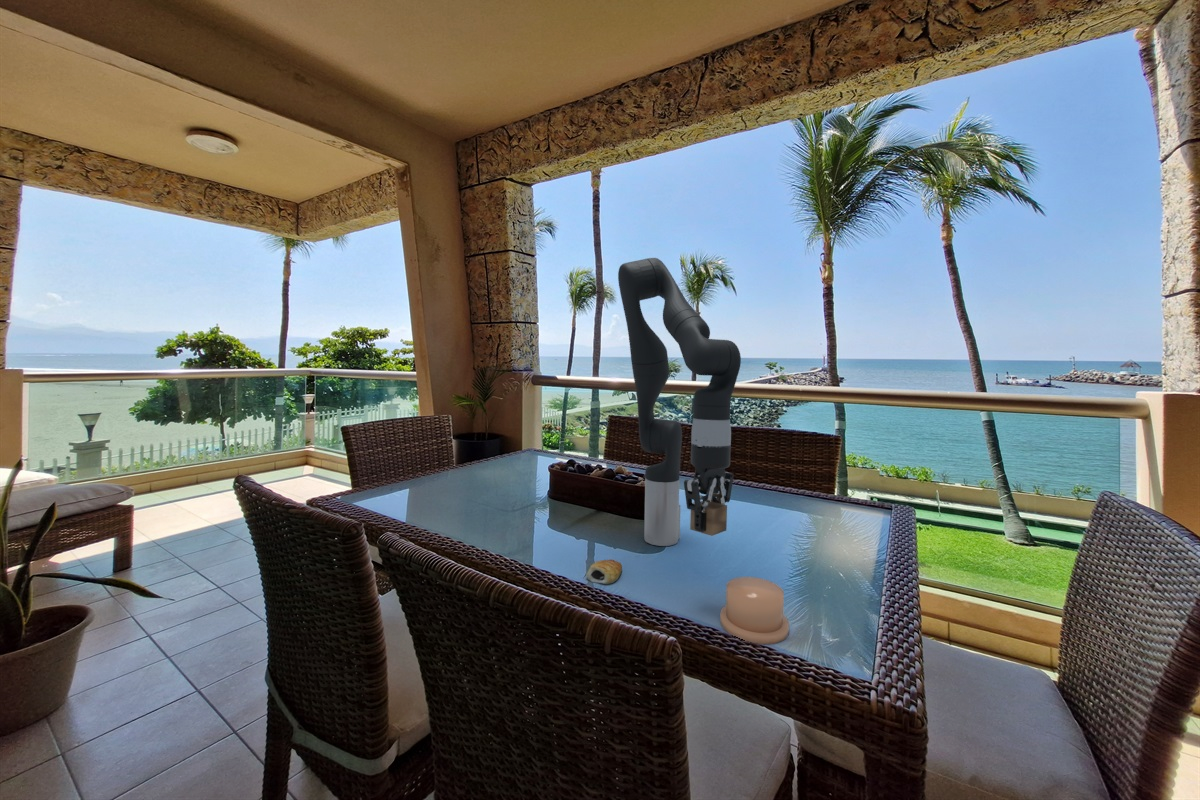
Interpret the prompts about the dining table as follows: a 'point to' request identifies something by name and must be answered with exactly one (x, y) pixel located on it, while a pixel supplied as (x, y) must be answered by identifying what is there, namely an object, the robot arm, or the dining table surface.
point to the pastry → (604, 571)
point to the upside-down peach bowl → (754, 611)
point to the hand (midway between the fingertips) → (708, 527)
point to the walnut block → (713, 518)
